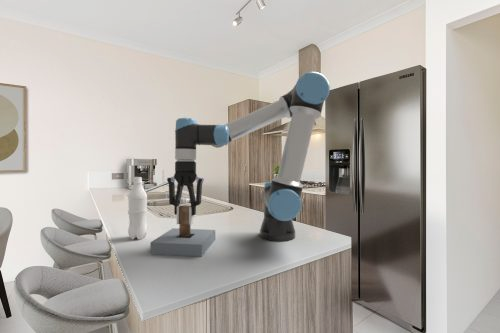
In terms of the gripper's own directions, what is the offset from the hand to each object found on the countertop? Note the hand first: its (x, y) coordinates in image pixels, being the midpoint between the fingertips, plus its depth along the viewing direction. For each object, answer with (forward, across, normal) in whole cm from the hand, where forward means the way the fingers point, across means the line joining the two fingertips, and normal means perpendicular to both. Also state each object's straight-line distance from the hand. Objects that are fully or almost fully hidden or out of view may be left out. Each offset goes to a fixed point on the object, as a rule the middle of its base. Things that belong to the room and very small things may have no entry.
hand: (185, 223), depth 94 cm
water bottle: (+9, +23, -7) cm, 25 cm away
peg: (+6, 0, 0) cm, 6 cm away
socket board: (+9, 0, 0) cm, 9 cm away
